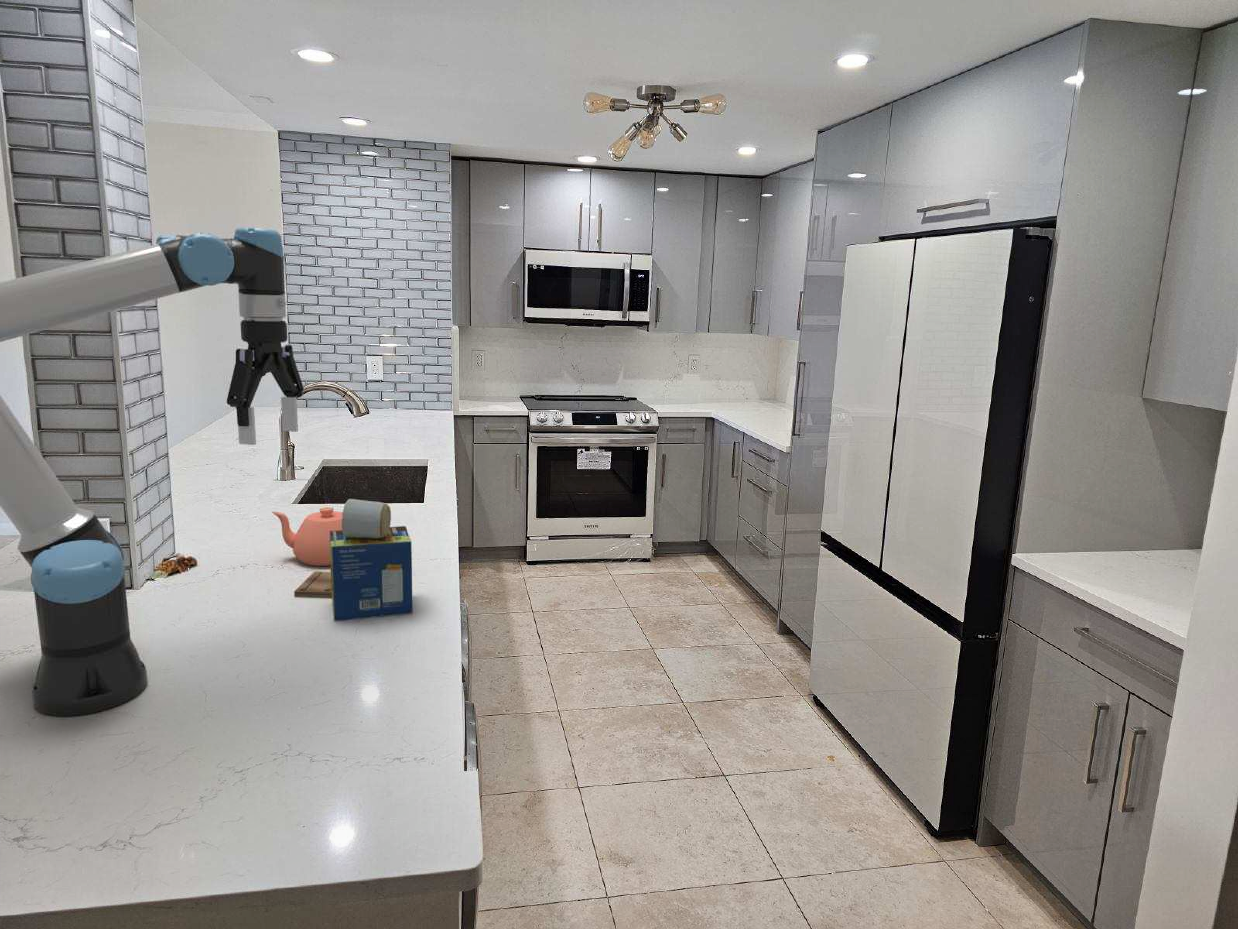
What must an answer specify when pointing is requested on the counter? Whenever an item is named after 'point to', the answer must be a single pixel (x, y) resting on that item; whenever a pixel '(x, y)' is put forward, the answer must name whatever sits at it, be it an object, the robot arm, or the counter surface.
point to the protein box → (371, 575)
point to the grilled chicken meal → (173, 565)
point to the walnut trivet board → (315, 586)
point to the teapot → (312, 536)
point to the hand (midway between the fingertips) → (270, 437)
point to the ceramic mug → (365, 519)
